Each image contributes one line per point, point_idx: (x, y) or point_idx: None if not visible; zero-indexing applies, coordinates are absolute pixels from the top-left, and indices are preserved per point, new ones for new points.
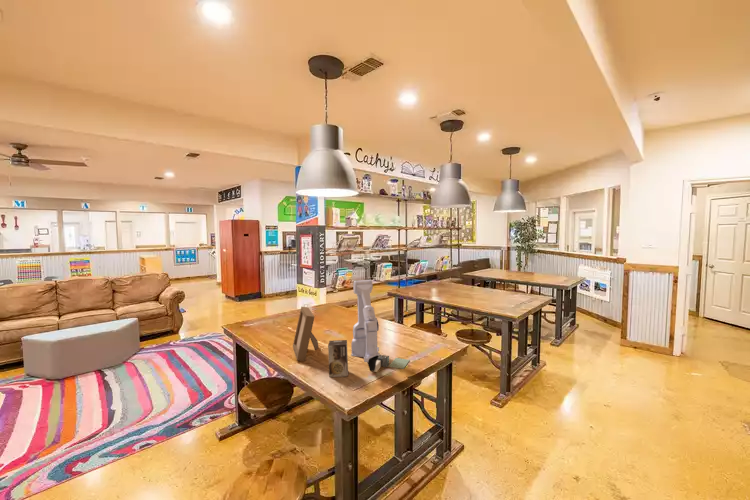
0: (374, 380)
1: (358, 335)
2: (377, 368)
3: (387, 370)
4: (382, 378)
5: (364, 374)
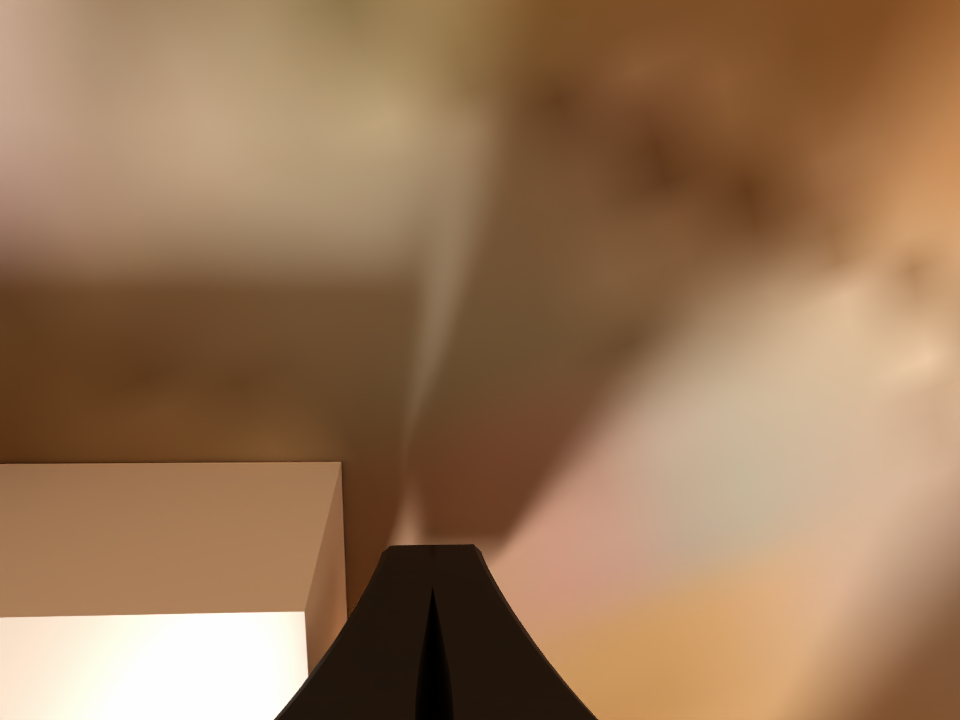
0: (935, 293)
1: None
2: (203, 498)
3: (30, 112)
4: (741, 72)
5: (624, 699)
